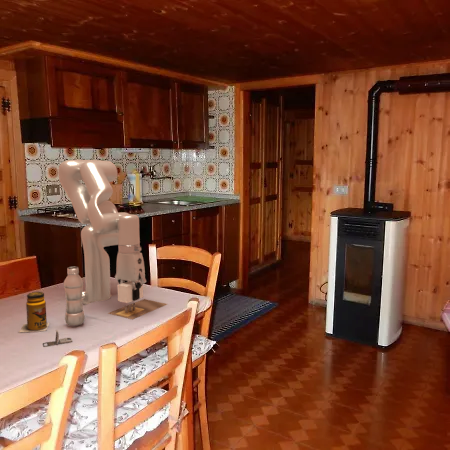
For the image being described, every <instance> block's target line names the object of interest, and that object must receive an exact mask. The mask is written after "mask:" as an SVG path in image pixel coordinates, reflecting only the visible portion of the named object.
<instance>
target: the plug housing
mask: <svg viewBox="0 0 450 450" xmlns="http://www.w3.org/2000/svg"><path fill="white" fill-rule="evenodd" d="M136 285H137V282H136ZM132 290H134V289H133V284H132V281H128V282H125V283H122V284H119V283H118V284H117V302H121V303H124V304H125V303H126V304H129V303H131V302H134V301H133V298H132ZM139 290H140V299H142V298H144V284H143V285H142V286H141V288H140V289H139Z"/></svg>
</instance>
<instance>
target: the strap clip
mask: <svg viewBox="0 0 450 450" xmlns="http://www.w3.org/2000/svg"><path fill="white" fill-rule="evenodd" d="M55 332H56V333H55V340H53V341H46V342H43V343H42V347H43V348H48V347H51V346H52V347H53V346H56V345H58V344H59V345H65V344H71V343H73V339H72V337H64V338H63V337H62V338H60V334H59V333H60V332H59V330H58V329H56V330H55Z"/></svg>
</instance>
